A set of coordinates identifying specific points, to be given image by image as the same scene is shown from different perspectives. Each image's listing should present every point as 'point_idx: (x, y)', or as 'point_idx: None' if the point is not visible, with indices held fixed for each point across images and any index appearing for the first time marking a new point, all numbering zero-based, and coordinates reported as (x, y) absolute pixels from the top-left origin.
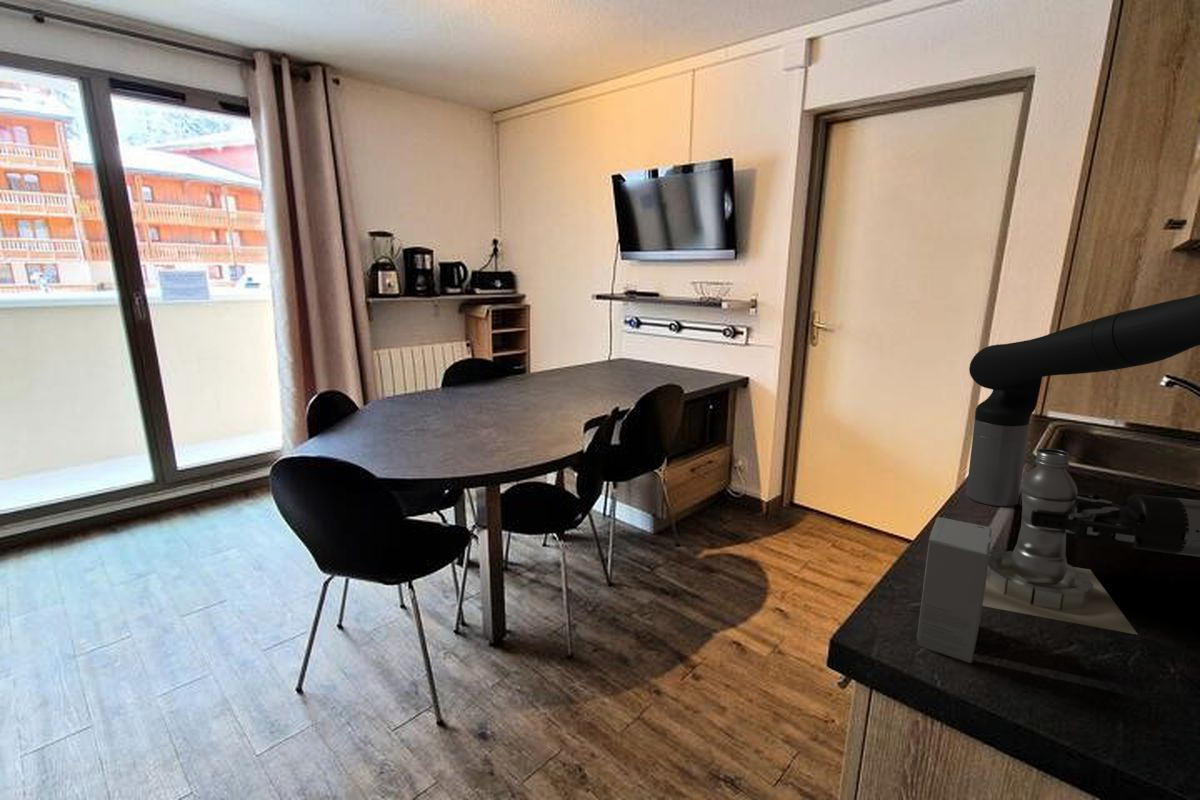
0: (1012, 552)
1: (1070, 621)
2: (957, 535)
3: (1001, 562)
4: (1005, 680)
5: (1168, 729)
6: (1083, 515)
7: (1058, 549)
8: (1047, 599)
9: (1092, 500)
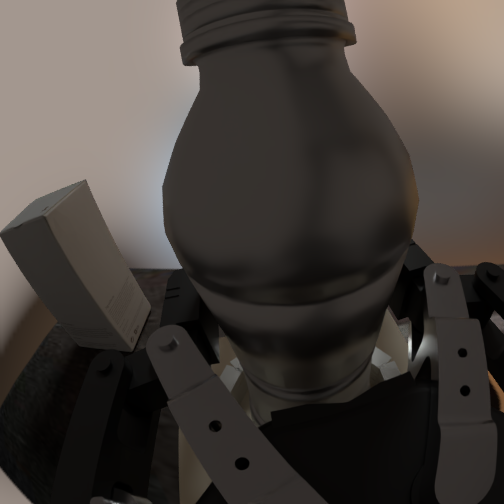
0: (382, 358)
1: (181, 465)
2: (34, 205)
3: None
4: (60, 369)
5: (22, 478)
6: (184, 383)
7: (259, 407)
8: None
9: (462, 402)
